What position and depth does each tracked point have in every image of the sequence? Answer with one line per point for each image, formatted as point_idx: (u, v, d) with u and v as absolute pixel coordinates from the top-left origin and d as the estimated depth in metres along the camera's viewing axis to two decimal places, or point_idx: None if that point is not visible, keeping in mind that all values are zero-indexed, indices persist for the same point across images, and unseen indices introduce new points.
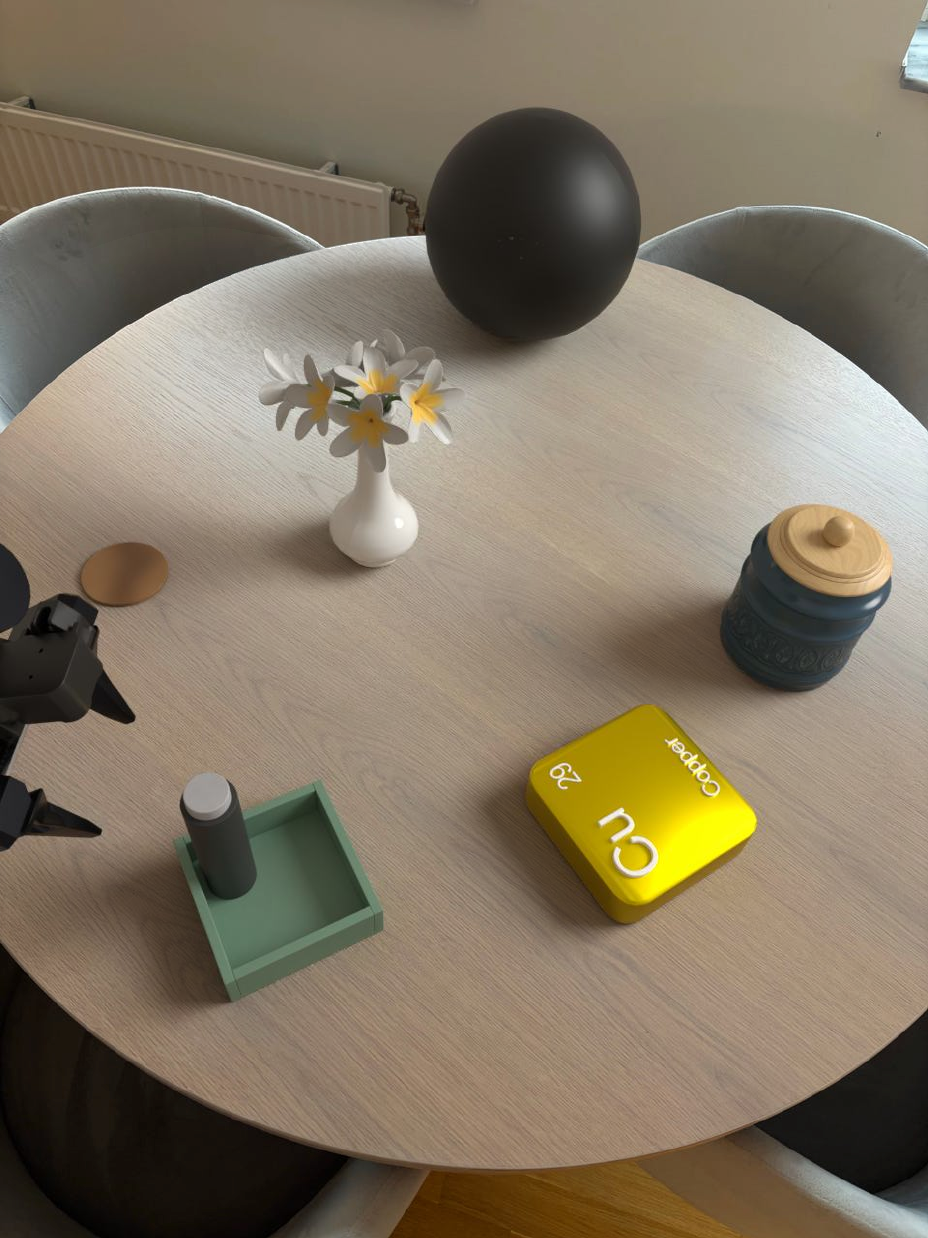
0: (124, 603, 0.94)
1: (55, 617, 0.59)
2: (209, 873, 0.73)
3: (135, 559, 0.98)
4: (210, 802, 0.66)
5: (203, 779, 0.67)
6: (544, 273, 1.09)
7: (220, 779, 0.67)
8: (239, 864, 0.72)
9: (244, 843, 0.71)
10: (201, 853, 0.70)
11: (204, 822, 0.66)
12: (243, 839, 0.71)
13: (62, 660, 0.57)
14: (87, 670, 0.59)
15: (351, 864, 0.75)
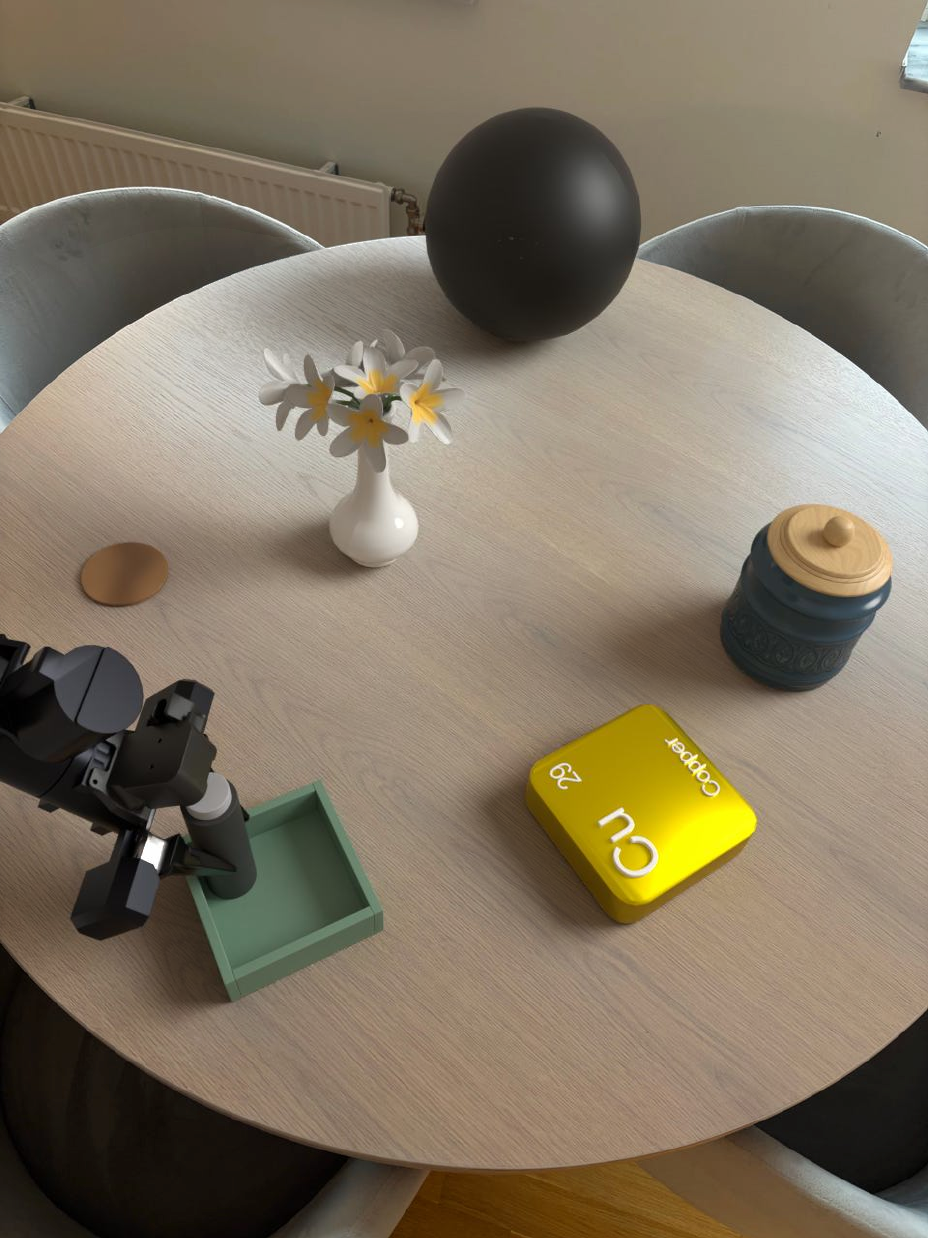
0: (124, 603, 0.94)
1: (170, 709, 0.64)
2: None
3: (135, 559, 0.98)
4: (210, 801, 0.66)
5: None
6: (544, 273, 1.09)
7: (220, 779, 0.67)
8: (239, 863, 0.72)
9: (244, 843, 0.71)
10: None
11: (204, 822, 0.66)
12: (243, 839, 0.71)
13: (178, 749, 0.62)
14: (202, 756, 0.63)
15: (351, 864, 0.75)
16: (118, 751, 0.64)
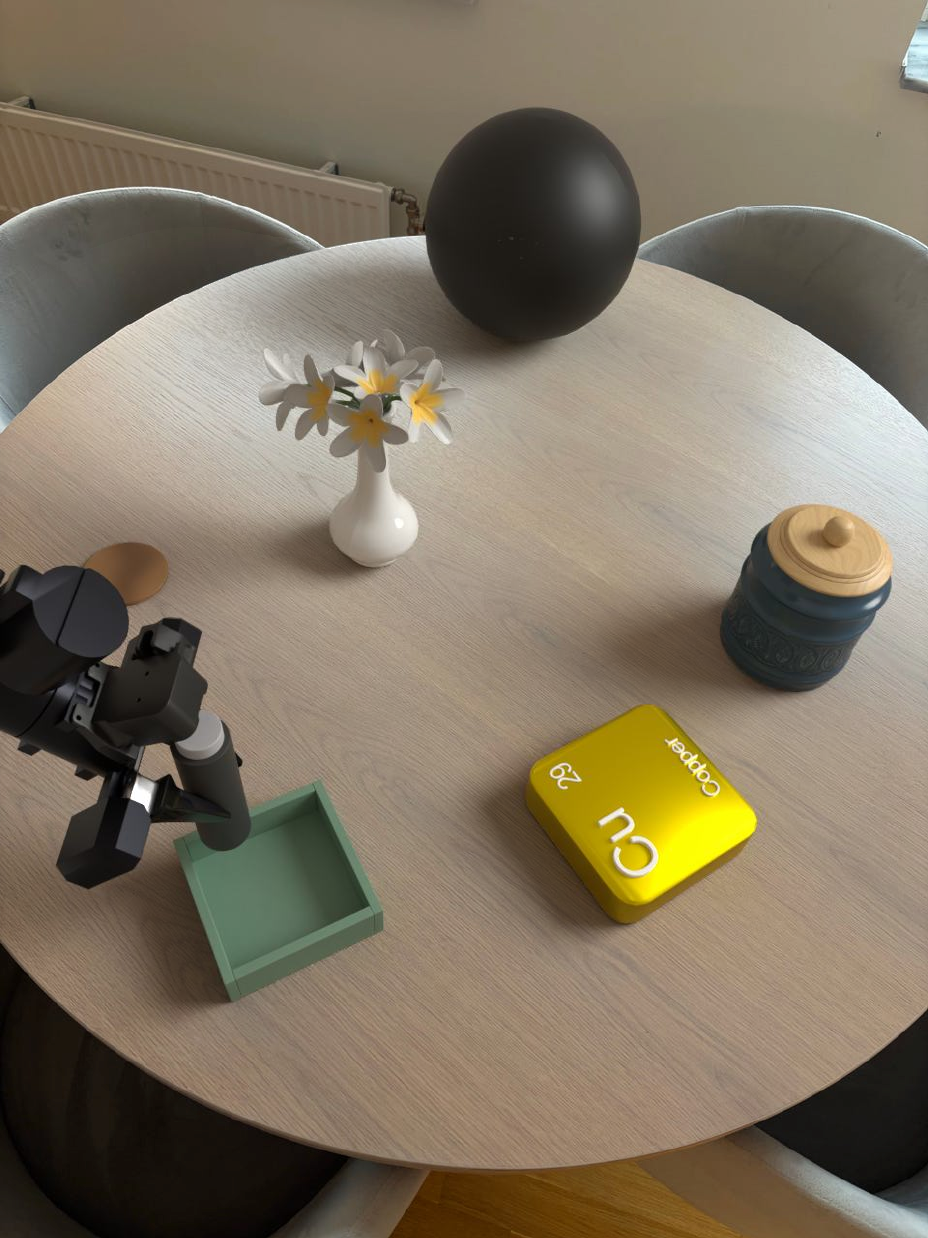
0: None
1: (157, 640, 0.60)
2: None
3: (135, 559, 0.98)
4: (202, 739, 0.62)
5: None
6: (544, 273, 1.09)
7: (212, 716, 0.63)
8: (233, 810, 0.69)
9: (238, 788, 0.68)
10: None
11: (196, 762, 0.62)
12: (237, 783, 0.67)
13: (167, 681, 0.58)
14: (192, 689, 0.60)
15: (351, 864, 0.75)
16: (102, 687, 0.60)
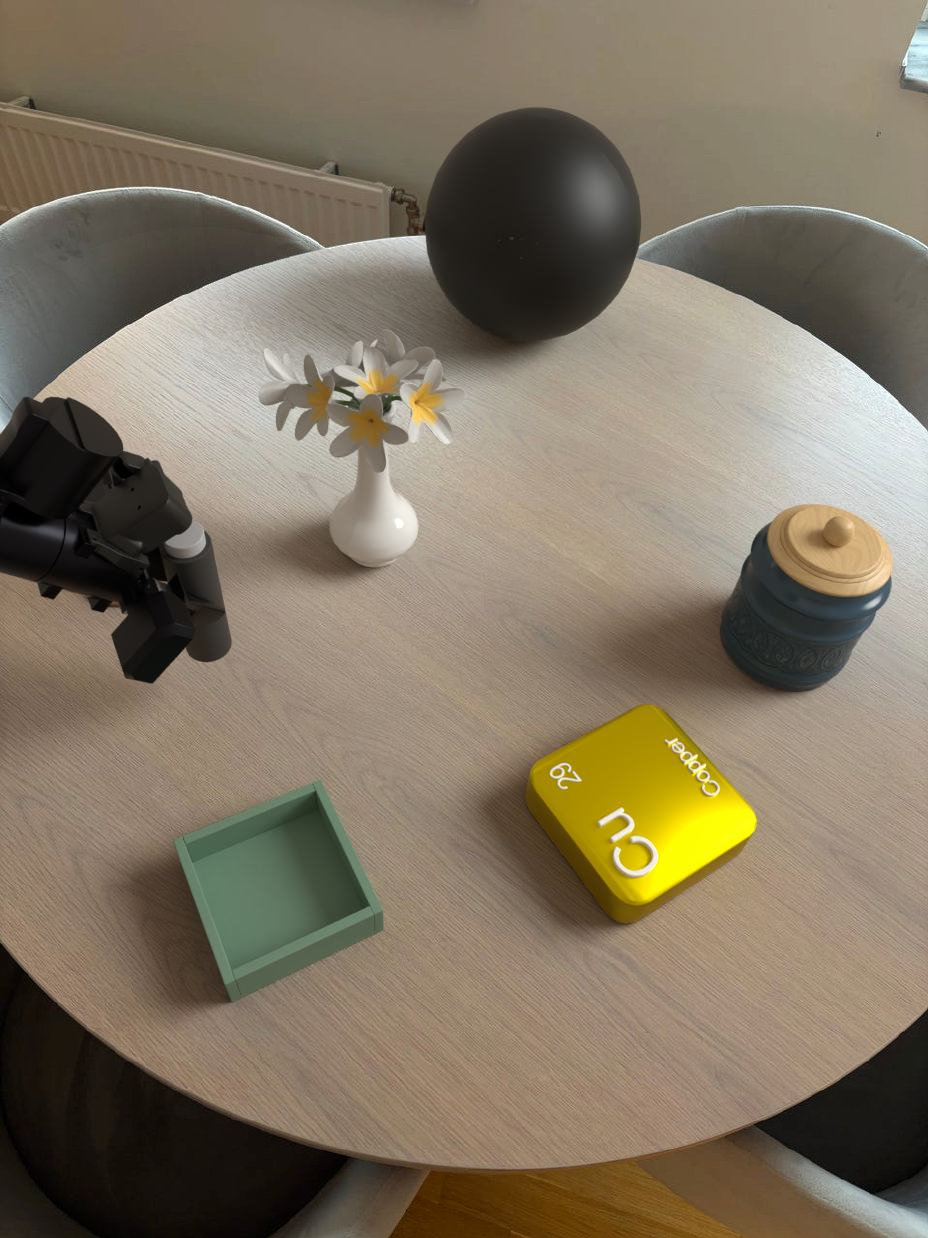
0: None
1: (128, 461, 0.70)
2: (199, 630, 0.80)
3: None
4: (191, 537, 0.73)
5: None
6: (544, 273, 1.09)
7: None
8: None
9: (220, 587, 0.79)
10: None
11: (192, 558, 0.73)
12: (219, 582, 0.79)
13: (155, 484, 0.69)
14: (174, 489, 0.70)
15: (351, 864, 0.75)
16: (96, 516, 0.69)
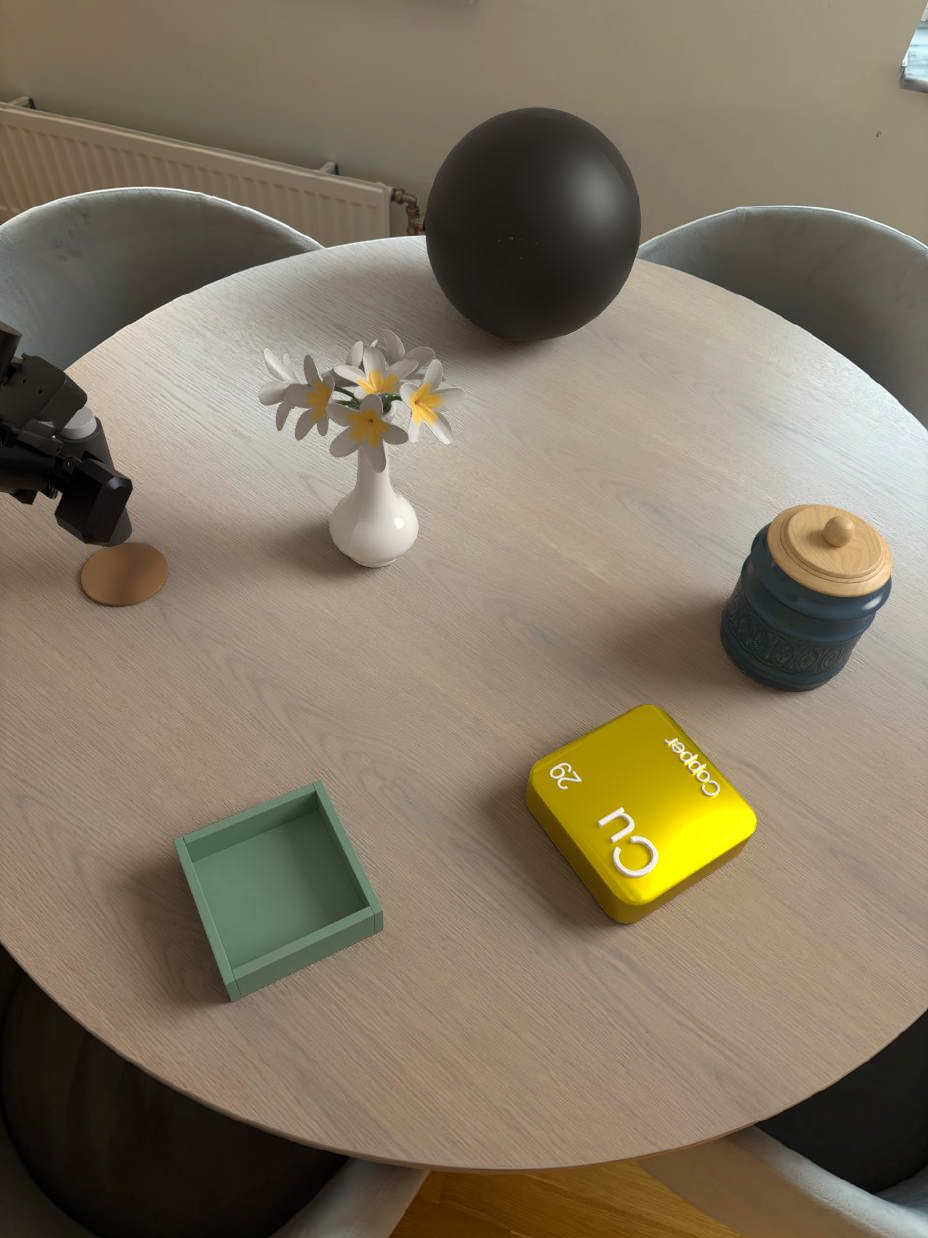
0: (124, 603, 0.94)
1: None
2: None
3: (135, 559, 0.98)
4: (84, 417, 0.81)
5: None
6: (544, 273, 1.09)
7: None
8: None
9: None
10: None
11: (91, 435, 0.82)
12: None
13: (45, 368, 0.76)
14: None
15: (351, 864, 0.75)
16: (1, 413, 0.76)
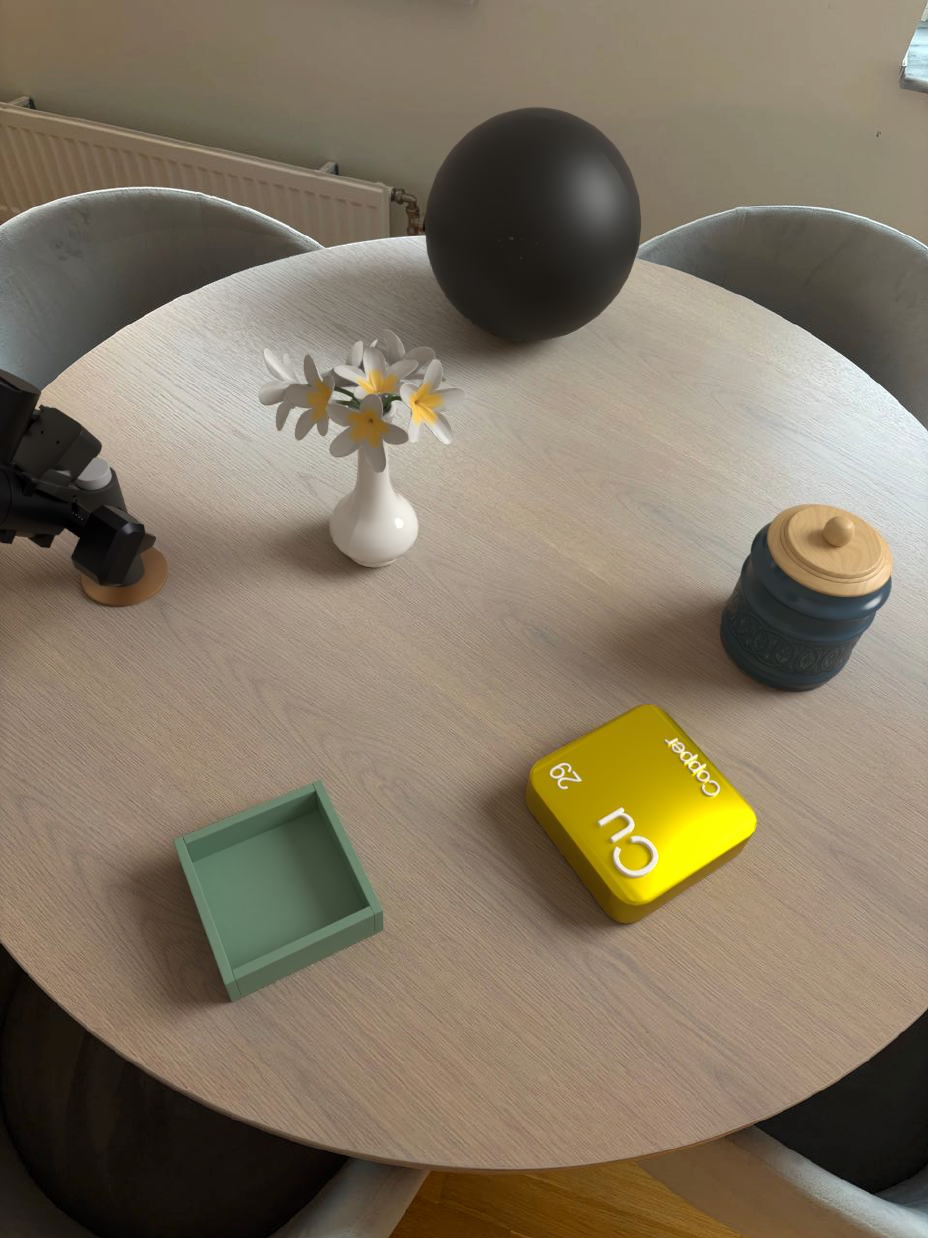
0: (124, 603, 0.94)
1: None
2: None
3: None
4: (100, 469, 0.86)
5: None
6: (544, 273, 1.09)
7: None
8: None
9: None
10: None
11: (107, 485, 0.86)
12: None
13: (62, 420, 0.81)
14: None
15: (351, 864, 0.75)
16: (20, 463, 0.80)
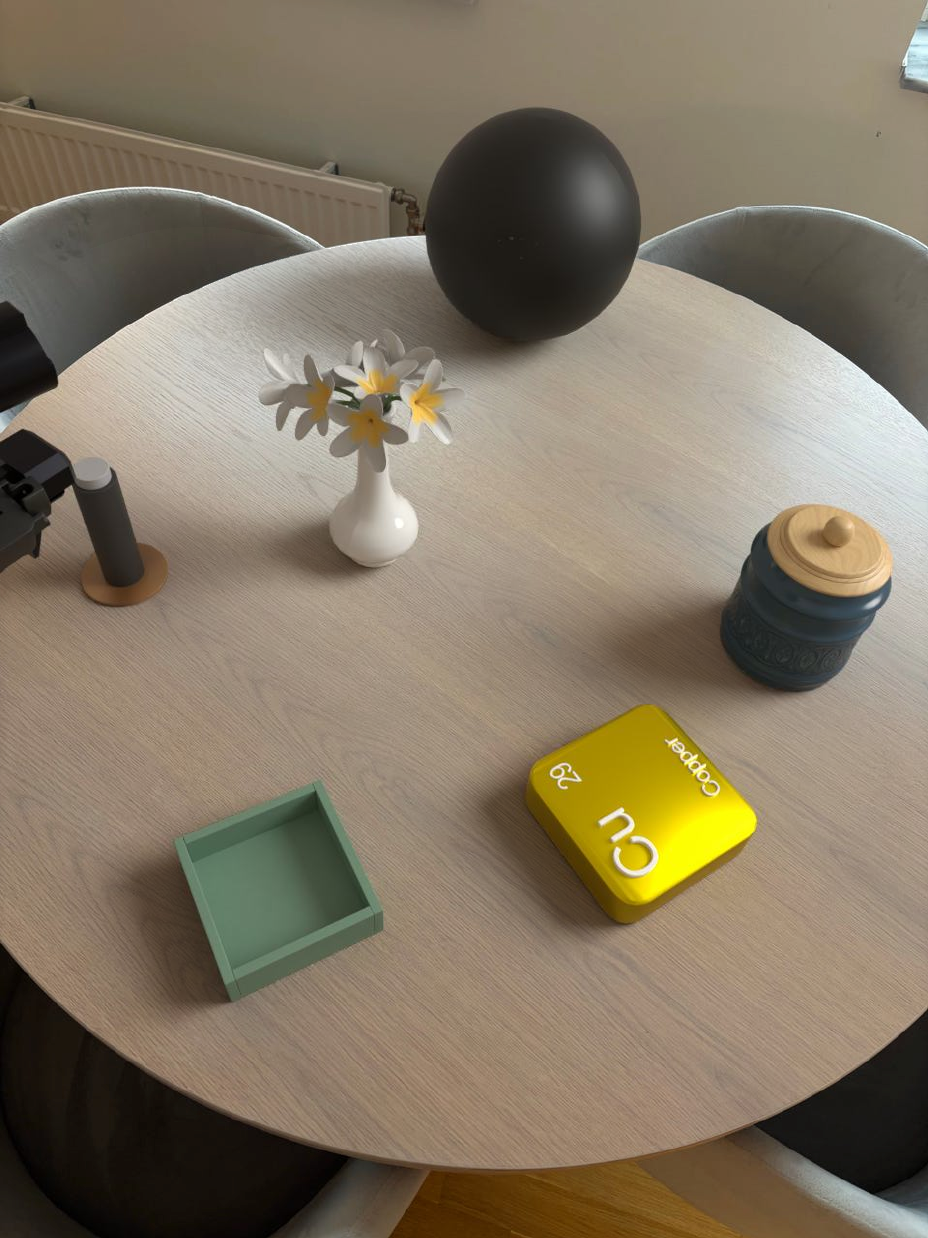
0: (124, 603, 0.94)
1: (30, 500, 0.68)
2: (121, 554, 0.92)
3: None
4: (100, 469, 0.86)
5: (79, 466, 0.86)
6: (544, 273, 1.09)
7: (89, 458, 0.87)
8: (133, 532, 0.93)
9: None
10: (112, 530, 0.90)
11: (107, 485, 0.86)
12: None
13: (6, 537, 0.67)
14: (19, 551, 0.69)
15: (351, 864, 0.75)
16: None
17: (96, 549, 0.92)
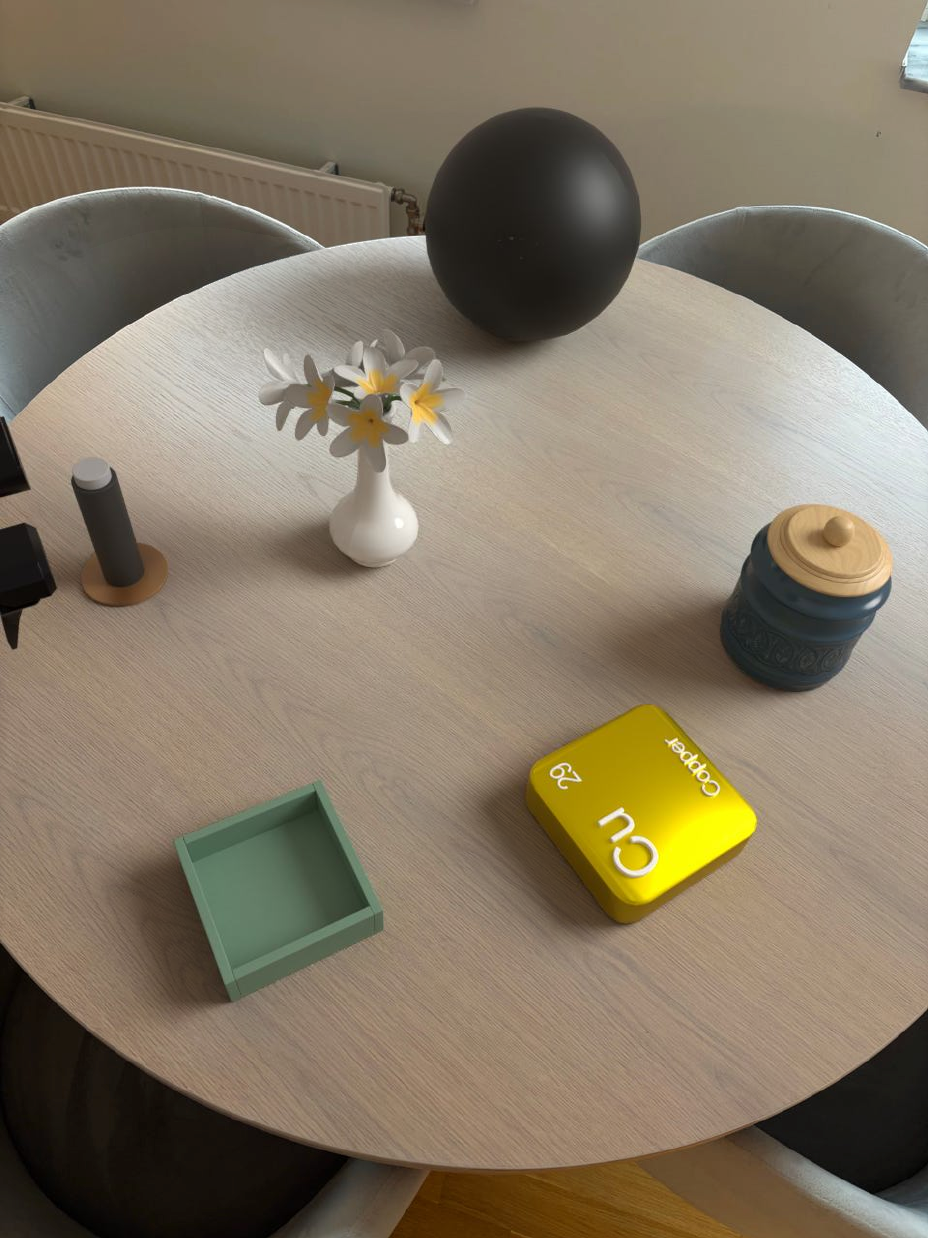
0: (124, 603, 0.94)
1: None
2: (121, 554, 0.92)
3: None
4: (100, 469, 0.86)
5: (79, 466, 0.86)
6: (544, 273, 1.09)
7: (89, 458, 0.87)
8: (133, 532, 0.93)
9: None
10: (112, 530, 0.90)
11: (107, 485, 0.86)
12: None
13: None
14: None
15: (351, 864, 0.75)
16: None
17: (96, 549, 0.92)
